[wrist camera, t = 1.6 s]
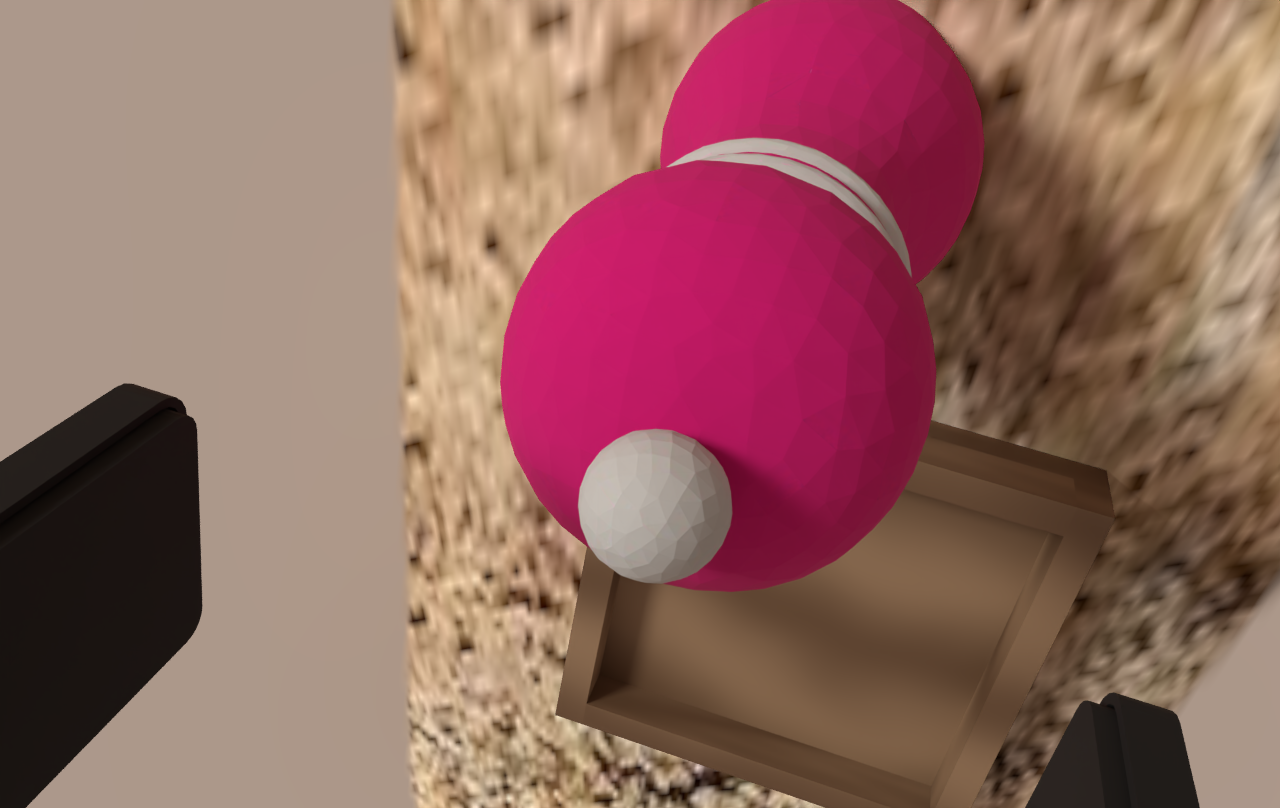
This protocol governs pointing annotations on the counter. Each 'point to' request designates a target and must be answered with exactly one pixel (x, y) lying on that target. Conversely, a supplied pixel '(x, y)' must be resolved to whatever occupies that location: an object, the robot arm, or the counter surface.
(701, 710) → the tray
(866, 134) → the pepper mill
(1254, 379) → the counter surface
